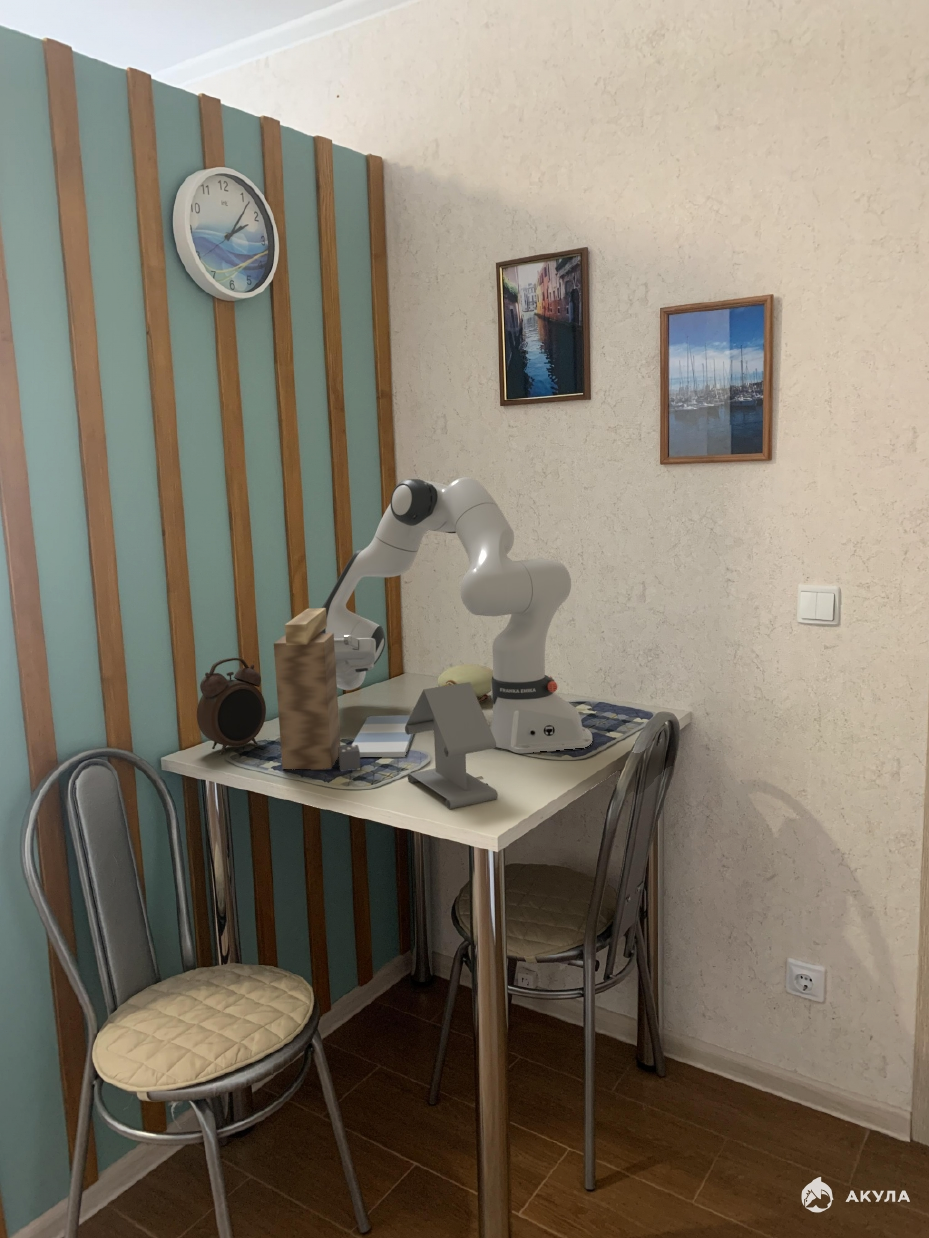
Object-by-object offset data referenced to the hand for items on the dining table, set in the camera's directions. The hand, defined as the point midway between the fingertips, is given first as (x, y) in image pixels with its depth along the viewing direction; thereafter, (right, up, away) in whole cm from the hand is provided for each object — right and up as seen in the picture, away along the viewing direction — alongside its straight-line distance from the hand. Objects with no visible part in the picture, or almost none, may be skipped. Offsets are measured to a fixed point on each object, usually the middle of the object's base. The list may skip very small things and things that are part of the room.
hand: (326, 638), depth 210 cm
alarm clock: (-19, -24, -5) cm, 31 cm away
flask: (+31, -17, +27) cm, 45 cm away
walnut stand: (0, -25, -16) cm, 30 cm away
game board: (+13, -22, -1) cm, 26 cm away
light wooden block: (-1, +1, -18) cm, 18 cm away
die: (+8, -26, -21) cm, 34 cm away
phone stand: (+29, -28, -36) cm, 53 cm away
